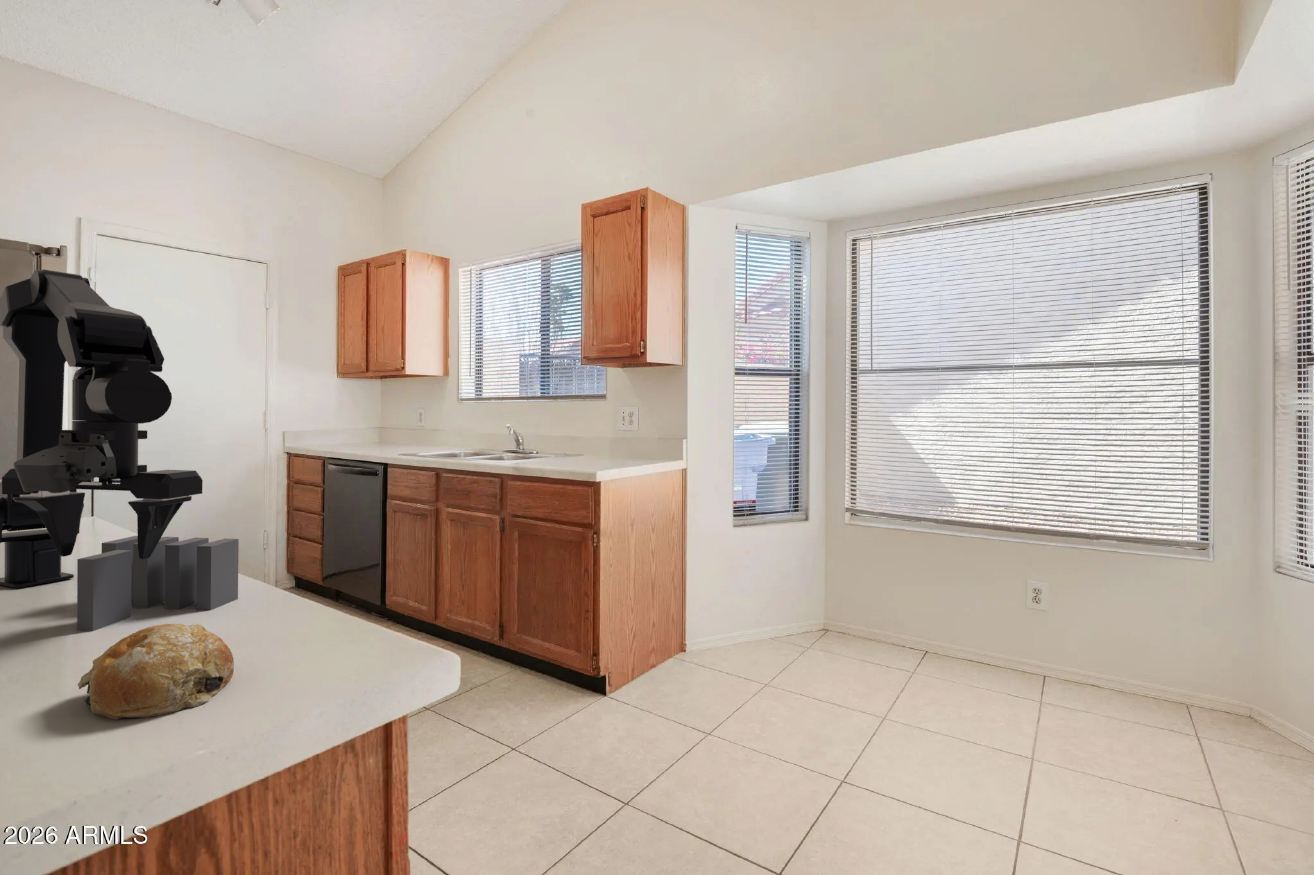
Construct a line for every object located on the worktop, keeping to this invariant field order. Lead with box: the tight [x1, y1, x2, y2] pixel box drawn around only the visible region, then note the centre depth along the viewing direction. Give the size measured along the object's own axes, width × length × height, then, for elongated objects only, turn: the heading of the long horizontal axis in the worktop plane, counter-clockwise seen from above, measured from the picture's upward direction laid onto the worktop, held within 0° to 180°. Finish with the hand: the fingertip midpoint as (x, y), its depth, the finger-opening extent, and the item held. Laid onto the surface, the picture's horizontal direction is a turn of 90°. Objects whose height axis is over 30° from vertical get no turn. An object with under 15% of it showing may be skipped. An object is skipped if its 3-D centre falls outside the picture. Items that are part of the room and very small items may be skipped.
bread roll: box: [77, 623, 235, 720], centre depth 55 cm, size 10×10×8 cm
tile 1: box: [76, 550, 132, 632], centre depth 73 cm, size 2×5×8 cm, turn 179°
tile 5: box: [195, 537, 240, 611], centre depth 81 cm, size 2×5×8 cm, turn 179°
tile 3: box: [132, 536, 180, 609], centre depth 81 cm, size 2×5×8 cm, turn 179°
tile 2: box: [101, 535, 138, 603], centre depth 81 cm, size 2×5×8 cm, turn 179°
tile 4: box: [164, 537, 210, 610], centre depth 81 cm, size 2×5×8 cm, turn 179°
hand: (105, 557), depth 73 cm, fingers open, 9 cm apart
